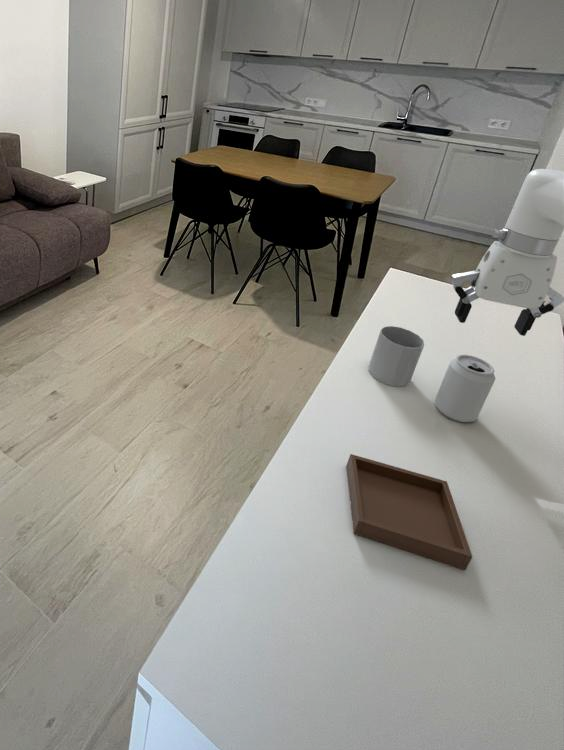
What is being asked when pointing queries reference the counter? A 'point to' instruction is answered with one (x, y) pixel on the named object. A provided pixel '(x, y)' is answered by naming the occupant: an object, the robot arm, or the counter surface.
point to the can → (465, 388)
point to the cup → (395, 356)
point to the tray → (406, 511)
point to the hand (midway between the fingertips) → (489, 325)
